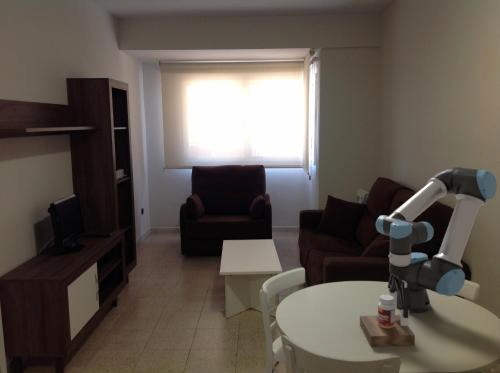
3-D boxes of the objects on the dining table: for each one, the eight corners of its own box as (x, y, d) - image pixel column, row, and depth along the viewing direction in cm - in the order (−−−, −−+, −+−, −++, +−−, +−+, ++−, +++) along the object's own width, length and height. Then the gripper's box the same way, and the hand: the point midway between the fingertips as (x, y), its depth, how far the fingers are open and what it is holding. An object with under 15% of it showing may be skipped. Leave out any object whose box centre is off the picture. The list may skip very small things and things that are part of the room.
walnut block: (399, 324, 176) (399, 314, 176) (414, 345, 161) (414, 335, 160) (359, 325, 176) (359, 316, 176) (370, 346, 161) (370, 336, 160)
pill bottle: (374, 325, 168) (375, 297, 166) (381, 319, 172) (382, 292, 170) (390, 330, 164) (391, 302, 162) (397, 324, 168) (397, 296, 166)
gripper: (380, 252, 176) (379, 302, 180) (400, 276, 151) (399, 333, 155) (399, 252, 176) (397, 301, 180) (422, 275, 151) (420, 332, 155)
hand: (398, 316), depth 167 cm, fingers open, 13 cm apart
